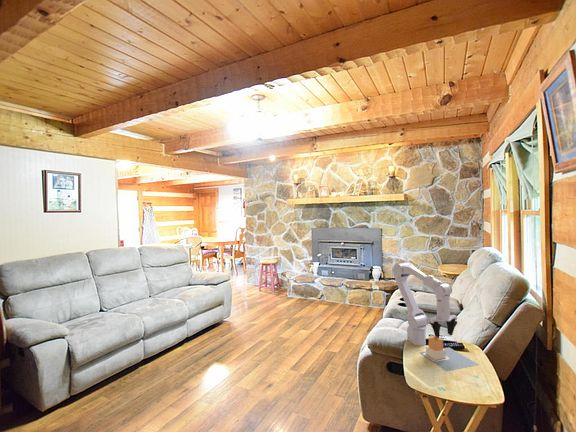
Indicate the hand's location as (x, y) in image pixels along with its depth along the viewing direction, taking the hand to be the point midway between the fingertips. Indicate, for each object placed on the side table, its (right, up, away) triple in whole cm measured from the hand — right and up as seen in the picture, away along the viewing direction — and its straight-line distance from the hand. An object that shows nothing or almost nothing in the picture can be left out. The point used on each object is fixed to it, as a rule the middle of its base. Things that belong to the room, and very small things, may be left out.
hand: (443, 335), depth 149 cm
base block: (-5, -10, -2) cm, 11 cm away
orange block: (-5, -6, -2) cm, 7 cm away
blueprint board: (0, -10, -4) cm, 11 cm away
